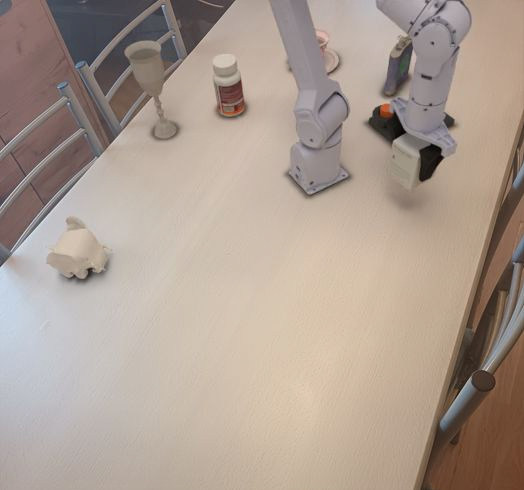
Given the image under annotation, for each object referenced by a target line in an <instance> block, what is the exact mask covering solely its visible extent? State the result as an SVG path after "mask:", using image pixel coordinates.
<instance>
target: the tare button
mask: <svg viewBox="0 0 524 490" xmlns="http://www.w3.org/2000/svg"><path fill="white" fill-rule="evenodd" d="M381 105H382V106H381V108H380V116H381V117H384V118H390V117H392V116H393V113H391V112H390V111H389V106H390V103H383V104H381Z"/></svg>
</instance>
